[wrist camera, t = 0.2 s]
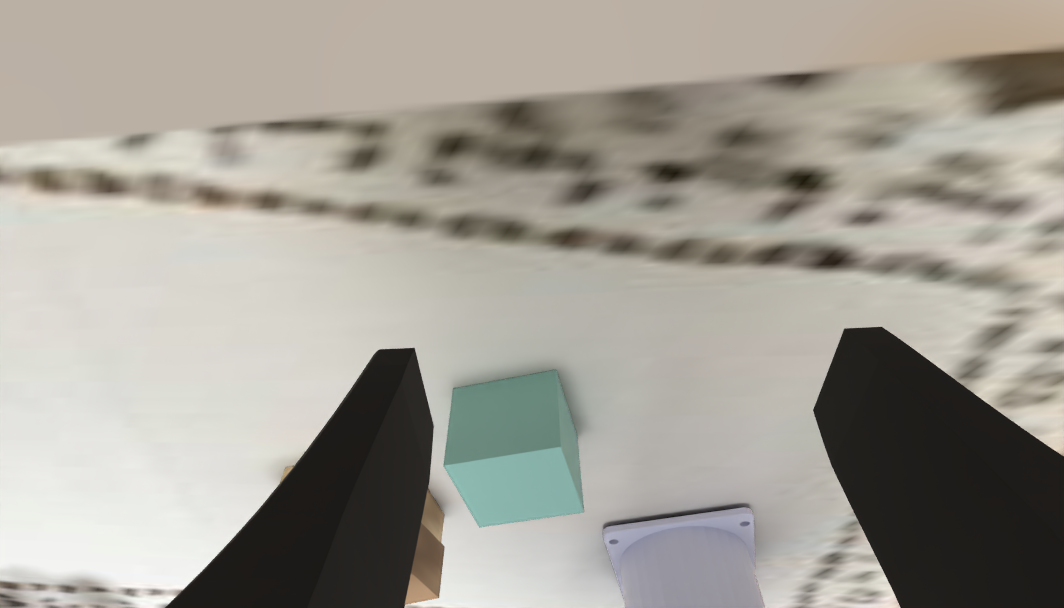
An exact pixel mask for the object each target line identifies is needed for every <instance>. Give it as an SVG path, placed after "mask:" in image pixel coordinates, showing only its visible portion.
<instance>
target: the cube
mask: <svg viewBox="0 0 1064 608" xmlns="http://www.w3.org/2000/svg"><path fill="white" fill-rule="evenodd" d="M444 467H445V469H446V471H447V473H448V474H449V476H450V478H451V480H452V481H453V483H454V485H455V486H456V488H457V490H458V492H459V493H460V495H461V497H462V498H463V500H464V502H465V504H466V505H467V507H468V509H469V510H470V512H471V514H472V516H473V517H474V519H475V521H476V522H477V524H478V526H479V527H486V526H493V525H500V524H506V523H513V522H520V521H527V520H534V519H541V518H548V517H555V516H562V515H569V514H575V513H582V512H584V506H583V494H582V483H581V471H580V460H579V449H578V437H577V433H576V430H575V427H574V424H573V420H572V417H571V414H570V411H569V408H568V405H567V402H566V399H565V395H564V392H563V389H562V386H561V383H560V380H559V377H558V374H557V370H552V371H546V372H541V373H535V374H530V375H525V376H519V377H514V378H508V379H503V380H497V381H492V382H486V383H481V384H475V385H470V386H465V387H459V388H454V389H453V395H452V403H451V411H450V419H449V426H448V434H447V442H446V450H445V458H444Z"/></svg>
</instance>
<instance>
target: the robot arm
mask: <svg viewBox="0 0 1064 608" xmlns="http://www.w3.org/2000/svg"><path fill="white" fill-rule="evenodd" d="M813 411H814V414H815V417H816V421H817V424H818V427H819V430H820V433H821V436H822V440H823V443H824V445H825V448H826V451H827V454H828V457H829V459H830V462H831V465H832V467H833V469H834V472H835V474H836V476H837V478H838V480H839V482H840V484H841V486H842V488H843V490H844V492H845V494H846V497H847V499H848V501H849V503H850V505H851V507H852V509H853V511H854V513H855V515H856V517H857V519H858V521H859V523H860V525H861V527H862V529H863V531H864V533H865V535H866V537H867V539H868V541H869V543H870V545H871V547H872V549H873V551H874V553H875V555H876V557H877V559H878V561H879V563H880V565H881V567H882V569H883V571H884V573H885V575H886V577H887V579H888V581H889V583H890V585H891V587H892V590H893V592H894V594H895V596H896V598H897V600H898V603H899V605H900V607H901V608H1064V456H1062V455H1061V454H1059V453H1057V452H1056V451H1054V450H1053V449H1051V448H1050V447H1048V446H1047V445H1046V444H1044V443H1043V442H1041V441H1040V440H1038V439H1037V438H1035V437H1034V436H1033V435H1031V434H1030V433H1028V432H1027V431H1025V430H1024V429H1022V428H1021V427H1020V426H1018V425H1017V424H1015V423H1014V422H1012V421H1011V420H1010V419H1008V418H1007V417H1005V416H1004V415H1003V414H1001V413H1000V412H998V411H997V410H996V409H994V408H993V407H992V406H990V405H989V404H987V403H986V402H985V401H983V400H982V399H980V398H979V397H978V396H976V395H975V394H974V393H972V392H971V391H970V390H968V389H967V388H965V387H964V386H963V385H961V384H960V383H959V382H957V381H956V380H955V379H953V378H952V377H951V376H949V375H948V374H946V373H945V372H944V371H942V370H941V369H940V368H938V367H937V366H936V365H934V364H933V363H932V362H930V361H929V360H928V359H926V358H925V357H923V356H922V355H921V354H919V353H918V352H917V351H915V350H914V349H913V348H911V347H910V346H908V345H907V344H906V343H904V342H903V341H901V340H900V339H899V338H897V337H896V336H894V335H893V334H891V333H890V332H888V331H887V330H885V329H884V328H882V327H870V328H848V329H844V331H843V334H842V336H841V339H840V342H839V344H838V347H837V349H836V352H835V355H834V357H833V360H832V363H831V365H830V368H829V370H828V373H827V376H826V378H825V381H824V383H823V386H822V389H821V391H820V394H819V397H818V399H817V402H816V404H815V407H814V410H813ZM433 428H434V426H433V422H432V417H431V413H430V409H429V405H428V401H427V397H426V393H425V389H424V385H423V381H422V377H421V373H420V369H419V364H418V360H417V356H416V352H415V348H404V349H381V350H378V351H377V352H376V353H375V354H374V355H373V357H372V358H371V360H370V361H369V363H368V364H367V366H366V367H365V369H364V370H363V372H362V373H361V375H360V376H359V378H358V379H357V381H356V382H355V384H354V385H353V387H352V388H351V390H350V391H349V393H348V394H347V395H346V397H345V398H344V400H343V401H342V403H341V404H340V405H339V407H338V408H337V410H336V411H335V413H334V414H333V415H332V417H331V418H330V419H329V421H328V422H327V423H326V425H325V426H324V428H323V429H322V430H321V432H320V433H319V434H318V436H317V437H316V438H315V440H314V441H313V442H312V444H311V445H310V446H309V448H308V449H307V450H306V452H305V453H304V454H303V456H302V457H301V458H300V460H299V461H298V462H297V463H296V465H295V466H294V467H293V468H292V470H291V471H290V472H289V473H288V474H287V476H286V477H285V478H284V479H283V481H282V482H281V483H280V484H279V485H278V487H277V488H276V489H275V490H274V492H273V493H272V494H271V495H270V496H269V498H268V499H267V500H266V501H265V503H264V504H263V505H262V506H261V507H260V508H259V510H258V511H257V512H256V513H255V514H254V515H253V516H252V518H251V519H250V520H249V521H248V522H247V523H246V524H245V526H244V527H243V528H242V529H241V530H240V531H239V532H238V533H237V534H236V536H235V537H234V538H233V539H232V540H231V541H230V542H229V543H228V544H227V545H226V546H225V547H224V549H223V550H222V551H221V552H220V553H219V554H218V555H217V556H216V557H215V558H214V559H213V560H212V561H211V562H210V563H209V564H208V566H207V567H206V568H205V569H204V570H203V571H202V572H201V573H200V574H199V575H198V576H197V577H196V578H195V579H194V580H193V581H192V582H191V583H190V584H189V585H188V586H187V587H186V588H185V589H184V590H183V591H182V592H181V593H180V594H179V595H178V596H176V597H175V598H174V599H173V600H172V601H171V602H170V603H169V604H168V605H167V606H166V607H165V608H404V606H405V601H406V596H407V591H408V586H409V581H410V576H411V571H412V566H413V561H414V556H415V551H416V546H417V541H418V536H419V531H420V526H421V521H422V516H423V511H424V506H425V501H426V495H427V490H428V485H429V478H430V467H431V455H432V442H433ZM603 539H604V542H605V545H606V548H607V551H608V554H609V557H610V560H611V563H612V566H613V569H614V572H615V575H616V578H617V581H618V584H619V587H620V590H621V593H622V596H623V599H624V602H625V608H765V605H764V602H763V599H762V595H761V592H760V589H759V586H758V582H757V579H756V576H755V545H754V515H753V512H752V510H751V509H750V508H746V507H743V508H735V509H728V510H721V511H714V512H707V513H700V514H693V515H686V516H679V517H672V518H665V519H657V520H650V521H643V522H636V523H629V524H622V525H615V526H609V527H606V528H605V529H604V530H603Z"/></svg>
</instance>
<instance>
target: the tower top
mask: <svg viewBox="0 0 1064 608" xmlns="http://www.w3.org/2000/svg"><path fill="white" fill-rule="evenodd" d="M443 556H444V546H443V545H442V544H441V542H440V541H439V540H438V539H437V538H436V537H435V536H434V535H433V534H432V533H431V532H430V531H429V530H428V529H427V528H426V527H425V526H424V525H423V524H422V523H421V526H420V531H419V536H418V541H417V546H416V551H415V556H414V561H413V566H412V571H411V576H410V581H409V586H408V591H407V596H406V601H405V605H406V604H411V603H416V602H421V601H426V600H431V599H436V598H439V593H440V584H441V574H442V565H443Z"/></svg>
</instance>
